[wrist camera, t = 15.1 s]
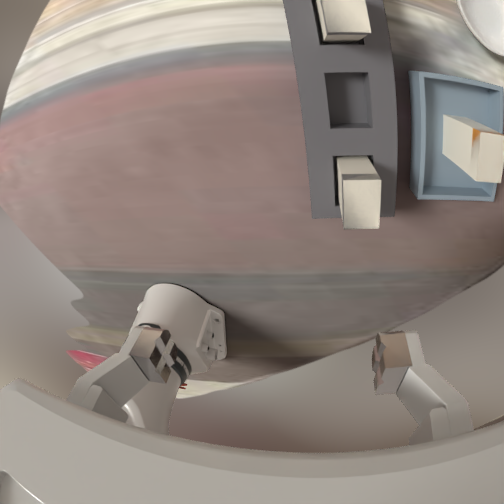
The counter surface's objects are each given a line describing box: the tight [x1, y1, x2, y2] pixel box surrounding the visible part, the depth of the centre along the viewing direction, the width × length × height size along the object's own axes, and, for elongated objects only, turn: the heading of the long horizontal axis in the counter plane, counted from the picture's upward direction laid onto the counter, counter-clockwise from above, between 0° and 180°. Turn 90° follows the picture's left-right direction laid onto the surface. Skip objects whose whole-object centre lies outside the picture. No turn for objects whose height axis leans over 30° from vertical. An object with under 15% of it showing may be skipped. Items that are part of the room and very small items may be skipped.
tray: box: [408, 71, 504, 201], centre depth 25 cm, size 15×12×4 cm
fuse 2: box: [336, 155, 381, 229], centre depth 28 cm, size 5×4×9 cm
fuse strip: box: [283, 0, 398, 219], centre depth 26 cm, size 27×10×4 cm, turn 10°
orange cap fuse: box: [442, 114, 504, 183], centre depth 22 cm, size 5×4×9 cm
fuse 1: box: [315, 0, 371, 44], centre depth 19 cm, size 5×4×9 cm
